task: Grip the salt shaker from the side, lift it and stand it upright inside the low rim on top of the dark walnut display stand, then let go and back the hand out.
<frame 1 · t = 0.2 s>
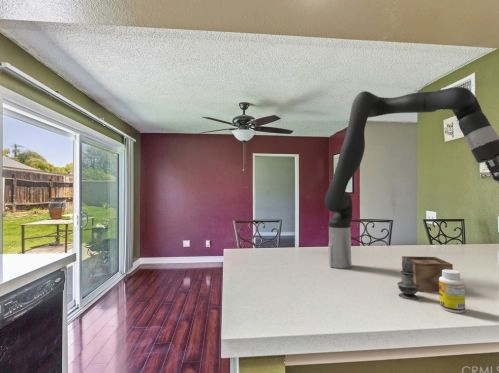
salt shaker: (408, 297, 84), on the kitchen island
supplement bottle: (452, 310, 75), on the kitchen island
display stand: (426, 286, 94), on the kitchen island
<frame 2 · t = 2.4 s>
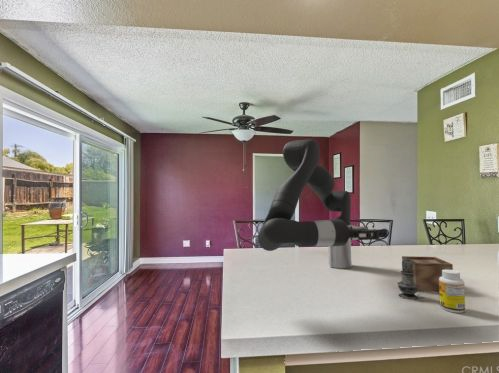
hand: (376, 231, 83), 20 cm above the kitchen island, tool horizontal, fingers open, 8 cm apart
nothing on the kitchen island moved.
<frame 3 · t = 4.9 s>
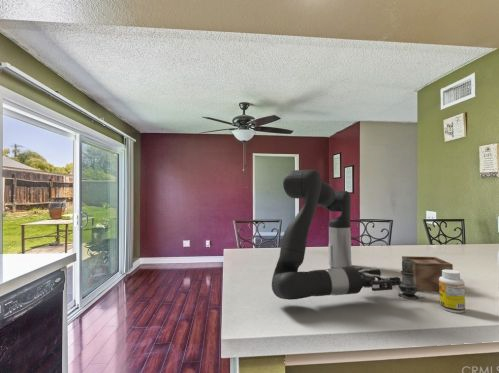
hand: (389, 276, 83), 6 cm above the kitchen island, tool horizontal, fingers open, 8 cm apart
nothing on the kitchen island moved.
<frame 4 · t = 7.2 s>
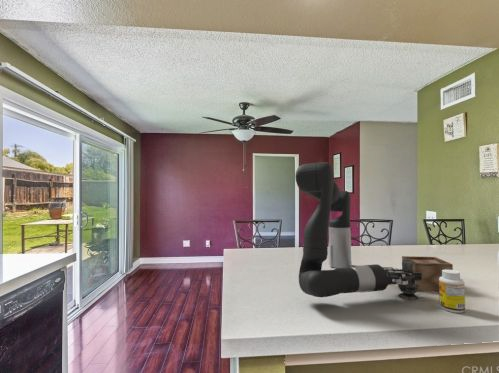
hand: (415, 274, 85), 7 cm above the kitchen island, tool horizontal, fingers closed on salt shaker, 3 cm apart
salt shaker: (408, 297, 84), on the kitchen island, touching gripper
everything else where it was.
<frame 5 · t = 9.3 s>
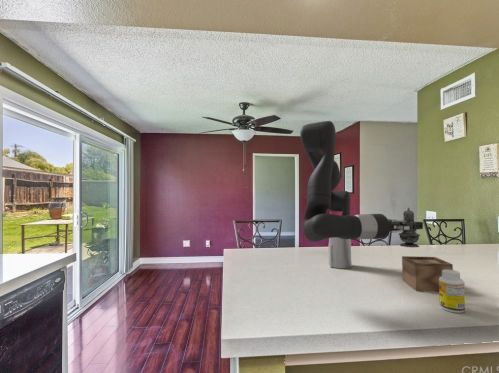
hand: (416, 224, 88), 22 cm above the kitchen island, tool horizontal, fingers closed on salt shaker, 3 cm apart
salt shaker: (409, 246, 87), point 15 cm above the kitchen island, touching gripper
everything else where it was.
when the fingers open (16 cm above the kitchen island, at t = 11.8 s): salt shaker drops 2 cm, resting on display stand.
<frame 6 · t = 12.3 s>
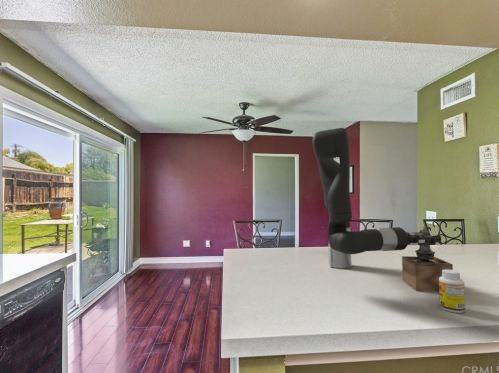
hand: (429, 237, 95), 17 cm above the kitchen island, tool horizontal, fingers open, 8 cm apart
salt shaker: (425, 262, 94), point 8 cm above the kitchen island, touching display stand
everything else where it was.
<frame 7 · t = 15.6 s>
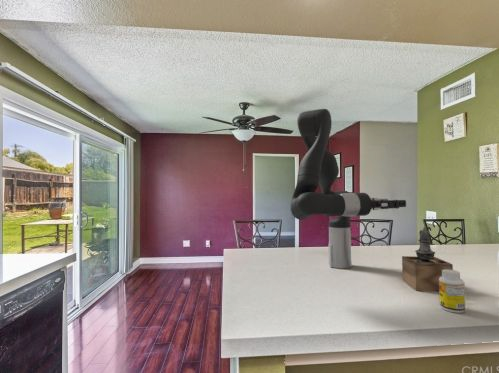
hand: (395, 202, 93), 28 cm above the kitchen island, tool horizontal, fingers open, 8 cm apart
nothing on the kitchen island moved.
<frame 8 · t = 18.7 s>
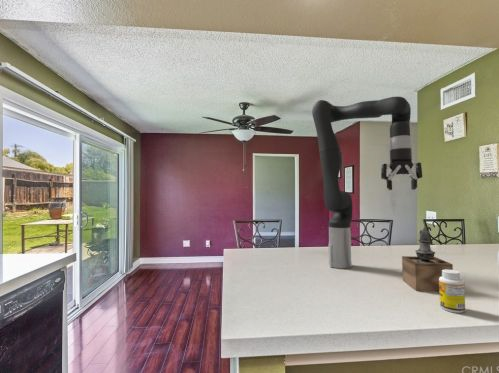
hand: (401, 189, 108), 33 cm above the kitchen island, tool pointing down, fingers open, 8 cm apart
nothing on the kitchen island moved.
at the end: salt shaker 0.1 cm off-centre on the display stand, point 7.8 cm above the display stand's base; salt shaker tilted 0°; the gripper is holding nothing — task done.
